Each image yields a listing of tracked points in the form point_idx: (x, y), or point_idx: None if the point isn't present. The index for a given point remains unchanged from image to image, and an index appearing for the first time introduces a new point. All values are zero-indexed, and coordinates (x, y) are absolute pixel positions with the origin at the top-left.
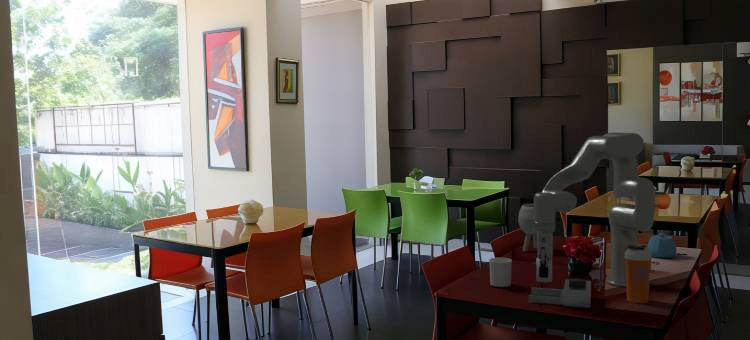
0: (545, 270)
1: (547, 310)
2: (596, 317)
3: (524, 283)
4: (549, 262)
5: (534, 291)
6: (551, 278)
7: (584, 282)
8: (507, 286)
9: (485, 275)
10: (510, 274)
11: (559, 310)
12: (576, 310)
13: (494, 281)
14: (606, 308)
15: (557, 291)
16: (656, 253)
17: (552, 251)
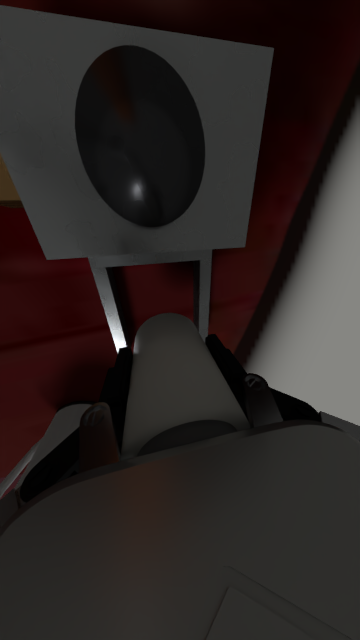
0: (240, 365)
1: (257, 283)
2: (334, 97)
3: (20, 388)
4: (229, 395)
5: (128, 345)
6: (178, 319)
7: (178, 75)
8: (93, 404)
9: (15, 459)
10: (66, 434)
11: (257, 251)
12: (255, 193)
13: None
14: (218, 5)
15: (111, 282)
16: None
17: (189, 575)
